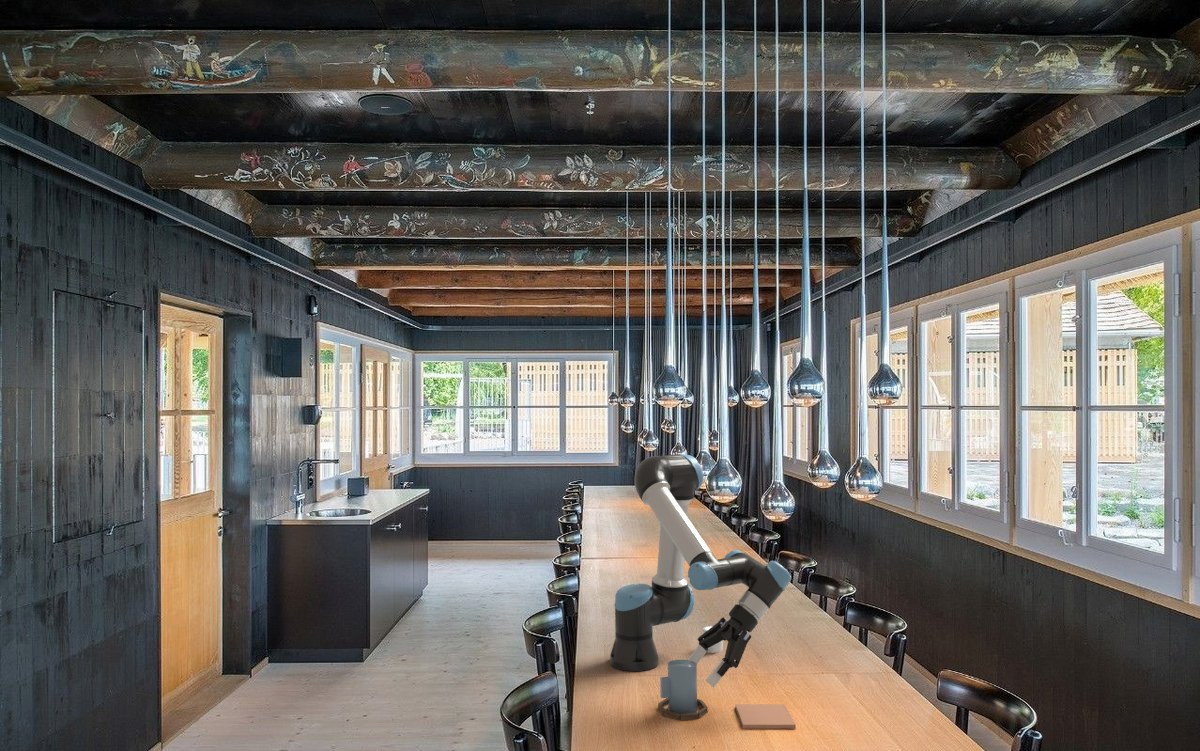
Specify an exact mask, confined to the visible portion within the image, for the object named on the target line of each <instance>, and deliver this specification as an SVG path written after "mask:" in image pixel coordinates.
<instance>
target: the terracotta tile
mask: <svg viewBox="0 0 1200 751" xmlns="http://www.w3.org/2000/svg"><path fill="white" fill-rule="evenodd" d="M734 708H735V710H736V713H737V715H738V718H739V721H740V724H741V726H742V729H749V730H752V729H755V730H756V729H760V730H763V729H765V730H767V729H768V730H770V729H771V730H772V729H774V730H776V729H777V730H779V729H781V730H782V729H783V730H785V729H786V730H787V729H788V730H791V729H794V730H796V729H797V728H796V727H797V726H796V725H797V724H796V723H795V721H794V718H793V717H792V715H791V714H790V711H789V710H788V708H787V706H786V705H785V703H735V706H734Z"/></svg>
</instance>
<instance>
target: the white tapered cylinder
mask: <svg viewBox="0 0 1200 751" xmlns="http://www.w3.org/2000/svg"><path fill="white" fill-rule="evenodd" d="M713 626H714V625H708V626H704V627H702V632H703V633H702V634H704V633H705V632H706V631H708V630H709V629H710V628H711V627H713ZM723 645H724V640H722V641H720V642H719V643H717V644H715V645H713V646H711V647H709V648H708V650H707V652H706V653H713V654H718V653H721V652H723V648H724V647H723Z"/></svg>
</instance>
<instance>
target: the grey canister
mask: <svg viewBox="0 0 1200 751" xmlns="http://www.w3.org/2000/svg"><path fill="white" fill-rule="evenodd" d="M697 665H698V663H697V664H696V663H695V662H693V661H690V660H687V659H672V660H670V661H668V663H667V676H662V677H660V678H659V679H660V680H659V681H660V682H659V683H660V685H659V686H660V693H659V694H660V698H661V699H666V698H668V704H667V705H668V707H667V708H668V709H667V711H670V712H674V713H678V714H688V713H697V712H698V705H697V699H698V675H697V674H698V668H697V667H698V666H697Z"/></svg>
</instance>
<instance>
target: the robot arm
mask: <svg viewBox="0 0 1200 751" xmlns="http://www.w3.org/2000/svg"><path fill="white" fill-rule="evenodd" d="M703 483H704V472H703V469H702V466H701V464H700V463H699V460H697V458H695V456H692V455H689V454H680V453H679V454H668V455H653V456H649V457H647V458H645V459H644V460H642V461H641V462H640V463H639V465H638V466H637V468H636V470H635V474H634V486H635V489H636V493H637V496H638V497H639V498H640V500H641V502H642V503H643V504H644V505H646V506H649V508H650V509H651V511H652V512H653V514H654V515H655V517H656V518H657V519H658V522H660V523H659V524H660V525H659V538H658V539H659V541H658V552H657V553H658V556H657V567H656V568H657V569H656V574H655V575H653V576H652V577H651V585H650V584H648V583H647V584H646V583H637V584H635V583H632V584H627V585H625V586H622V587H621V588H619V589H618V590H617V591H616V593H615V596H614V598H615V599H614V604H613V605H614V610H615V611H614V614H615V615H614V617H615V618H614V619H615V620H614V622H615V623H614V625H615V626H614V628H615V629H614V630H615V637H614V640H613V641H614V642H613V645H612V648H611V650H610V651H611V652H610V655H609V664H610V666H611V667H613V668H615V669H618V670H621V671H627V672H641V671H642V672H643V671H648V670H652V669H654V668H656V667H658V665H659V654H658V650H657V647H656V645H655V641H654V638H653V637H654V636H653V629H654V628H653V627H654V626H659V625H660V626H661V625H665V624H670V623H671V624H672V623H678V622H679V621H682V620H685V619H687V618H688V617H690V616H691V614H692V613H693V610H694V607H695V594H694V593H693V592H694V590H696V591H697V590H698V591H707V590H708V591H711V590H714V589H718V588H722V587H730V586H734V585H739V584H742V585H745V586H746V587H747V590H746V591H745V592H744V593H743V595H741V597H740V598H739V600H738V601H737V604H735V605H733V606H732V609H730V611H729V612H728V616H729V617H730V618H729V620H727V619H726V618H725V617H724V616H723V617H721V618H720V620H718V622H717V623H715V624H714V625H712V626H713V627H711V628H710V629H709V630H708V631H706V632H705V633H704V634H703V633H702V634H701V635H700V636H698V638H697V641H698V645H697V647H696V648H695V649H694V650H693V651H692V653H691V654H690V655H689V657H688V658H687V659H686V660H690V661H693V662H695V663H696V664H697V665H698V664H699V662H700V661H701V660H702V658H704V656H705V655H706V653H708V652H707V650H708V648H709V647H711V646H713V645H715V644H717V643H719V642H720V641H722V640H723V642H724V641H727V644H726V649H725V654H724V657H723V658H722V659H721V660H720V661H719V662H718V663H717V665H716V666H715V667H714V669H713V670H712V671H711V673H710V674H708V676H707V677H706V679H705V681H706V683H708V684H709V685H710V686H711V687H712V688H713V689H715V687H716V685H717V684H718V683H719V682H720V681H721V679H722V678H723V677H725V676H724V675H726V673H727V672H728V671H729V670H730V668H733V667H734V668H735V669H737V668H738V667H739V666H740V665H739V664H740V662H741V661H742V660H741V659H742V657H743V654H744V653H745V650H746V648H747V645H748V643H749V642H750V641H751V638H752V635H751V633H752V632H753V630H754V629H755V628H756V627H757V625H758V624H759V621H761V620H762V618H763V617H764V616H765V615H766V614H767V612H768V611H769V610H770V608H772V605H773V604H774V603H775V602H776V600H777V599H778V598H779V597H780V596H781V595H782V594H783V592H784V591H785V590H786V589H787V586H788V585H789V584H790V582H791V580H792V575H791V573H790V572H789V571H788V570H787V569H786V568H785V567H784V566H783V565H782V564H780V563H779V562H777V561H775V560H770V561H769V562H768V563H767V564H763V563H761V562H760V561H758V560H757V559H755V558H754V557H752V556H751V555H749V554H748V553H745V552H743V551H741V550H739V549H733V550H731V551H730V552H728V553H727V554H726V555H725V556H724V558H717V557H716V556H715V554H714V553H713V552H712V550H711V549H710V547H709V546H708V544H707V542H705V540H704V539H703V537H702V536H701V534H700V533H699V531H698V530H697V528H696V527H695V525H694V524H693V523H692V521H691V520H690V518H689V507H690V506H689V505H690V503H691V502H692V501H694V499H695V491H698V490H699V489H700V488H701V486H702V485H703ZM685 561H686V562H685ZM686 563H687V564H688V566H689V567H688V570H687V577H688V579H689V581H688V579H687V578H686V577H685V564H686ZM689 584H690V585H691V586H692V587H691V586H690V585H689ZM692 588H693V589H694V590H693V589H692Z"/></svg>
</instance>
